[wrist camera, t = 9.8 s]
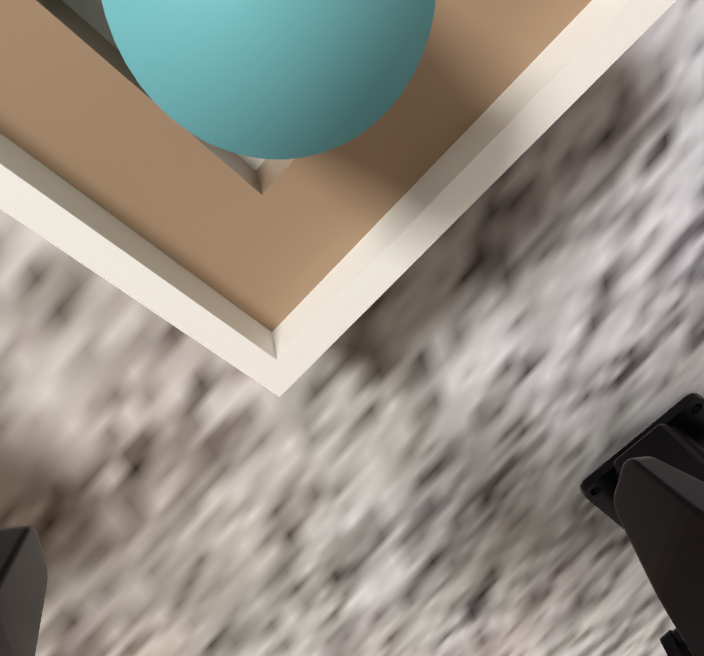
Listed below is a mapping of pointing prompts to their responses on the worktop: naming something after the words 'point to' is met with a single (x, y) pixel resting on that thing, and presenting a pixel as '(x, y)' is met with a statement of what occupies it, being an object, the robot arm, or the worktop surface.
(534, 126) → the peg box
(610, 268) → the worktop surface
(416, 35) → the peg
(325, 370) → the worktop surface
